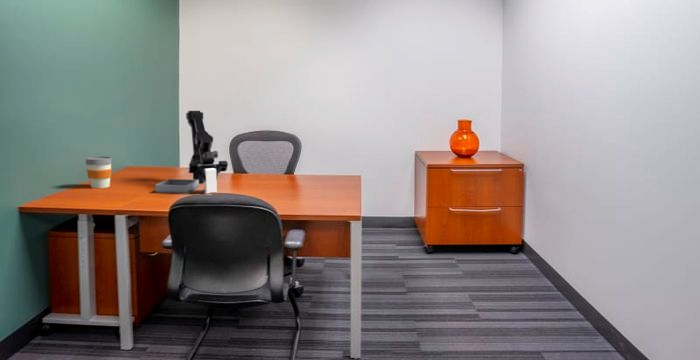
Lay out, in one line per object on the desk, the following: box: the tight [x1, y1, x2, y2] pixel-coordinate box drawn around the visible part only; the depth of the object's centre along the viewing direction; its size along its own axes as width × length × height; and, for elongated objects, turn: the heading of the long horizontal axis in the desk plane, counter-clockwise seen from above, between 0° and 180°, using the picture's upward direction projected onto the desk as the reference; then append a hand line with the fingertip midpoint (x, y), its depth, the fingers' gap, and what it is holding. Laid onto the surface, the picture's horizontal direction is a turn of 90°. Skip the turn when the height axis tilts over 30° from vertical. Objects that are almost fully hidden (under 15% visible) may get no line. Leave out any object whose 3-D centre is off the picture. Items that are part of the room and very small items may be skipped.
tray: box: [154, 178, 200, 195], centre depth 311 cm, size 18×16×4 cm
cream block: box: [203, 168, 218, 194], centre depth 303 cm, size 5×5×12 cm
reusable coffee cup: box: [85, 156, 113, 189], centre depth 317 cm, size 13×13×15 cm
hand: (211, 180), depth 301 cm, fingers closed on cream block, 5 cm apart
